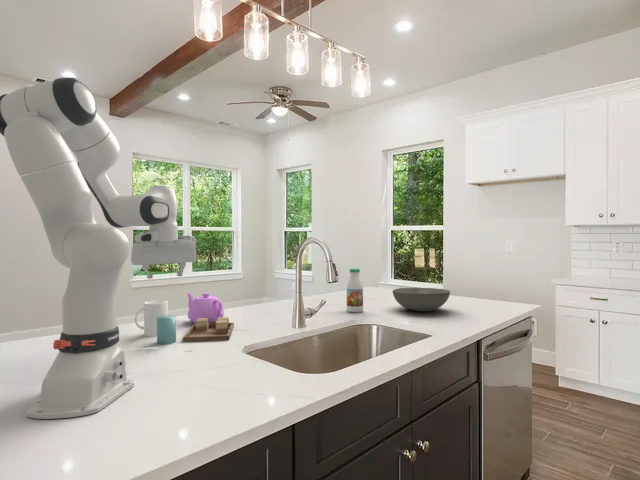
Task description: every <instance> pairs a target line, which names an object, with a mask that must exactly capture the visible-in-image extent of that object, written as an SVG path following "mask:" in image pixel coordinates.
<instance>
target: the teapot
mask: <svg viewBox="0 0 640 480" xmlns="http://www.w3.org/2000/svg"><path fill="white" fill-rule="evenodd" d="M185 293H186V294H187V296H188V311H187V318H188V320H189V321H190V322H191V323H192V324H196V320H197V318H208V323H216V321H217V320H218V318H219V317H225V310H224V307H223V301H222V300H221V299H219V298H218V297H217V296H214V295H210V294H211V293H210V292H203V293H202V296H196V297H195V298H194V295H193V294H192V293H191V292H188V291H186V292H185Z"/></svg>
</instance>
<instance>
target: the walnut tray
mask: <svg viewBox="0 0 640 480" xmlns="http://www.w3.org/2000/svg"><path fill="white" fill-rule="evenodd" d="M234 327H235V322H229V330H228V333H223V334H216V322H211V323H208V330H207V331H198V332H196V324H194V323H192V325H191V327H190V328H189V330H187V332H186V333H185V335H184V336H183V337H182V343H194V342H219V341H222V342H223V341H230V339H231V336H232V333H233V330H234Z"/></svg>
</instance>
